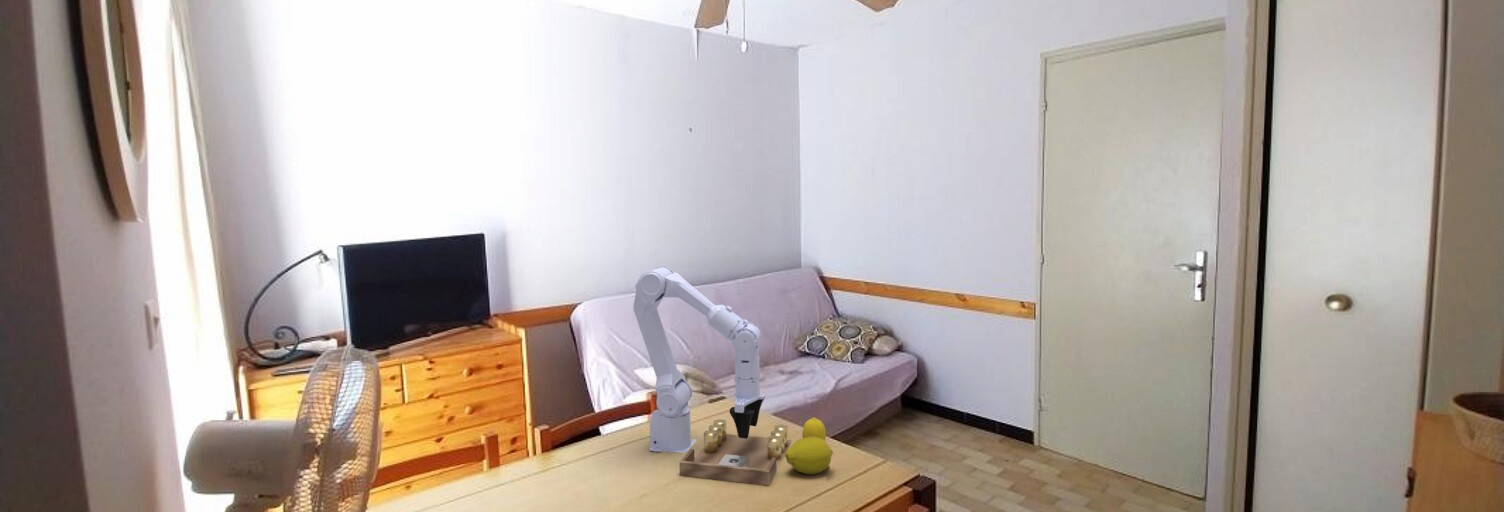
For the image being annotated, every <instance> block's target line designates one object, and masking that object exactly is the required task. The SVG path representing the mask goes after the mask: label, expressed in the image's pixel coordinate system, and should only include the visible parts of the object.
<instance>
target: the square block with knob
mask: <svg viewBox="0 0 1504 512" xmlns="http://www.w3.org/2000/svg"><path fill="white" fill-rule="evenodd" d="M718 465H726V466H735V467H744V468H749V467H750V459H749V457H748V456H738V455H729V454H725V456H724V457H723V458H722V460H721V461H720V462H719V464H718Z"/></svg>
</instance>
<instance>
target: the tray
mask: <svg viewBox="0 0 1504 512" xmlns="http://www.w3.org/2000/svg"><path fill="white" fill-rule="evenodd" d="M767 438H768V437H761V436H750V435H748V438H747V439H745V438H739V437H738V434H730V433H727V440H726V441H723V442H722V446H721V447H718V451H717V452H716V453H713V454H707V453H705V452H704V446H703V447H702V448H701V449H700V451H699V452H698V453H697V454H696V455H695V449H694V448H693V449H692V448H690V449H689V450H688V451H687V452H686V454H685V455H684V456H683V458H682V459H681V460H679V462H678V463H679V466H678V467H679V476H682V477H692V478H699V479H709V480H717V481H718V480H719V481H725V482H726V481H727V482H733V483H734V482H735V483H741V484H742V483H744V484H752V485H761V486H762V485H763V486H767V487H769V486H770V485H771V482H772V480H773V478H774V476H775V474H776V472H777V471H778V469H779V467H780V465H781V463H782V461H783V459H784V457H785V454H786V452H787V451H788V450H789V449H790V447H791V446H790V445H791V444H792V442H793V439H788V446H787V447H785V452H784V453H782V454H781V459H779V460H776V458H774V457H773V458H772V460H769V459H768V456H767ZM725 454H729V455H738V456H748V457H749V459H750V467H749V468H744V467H735V466H726V465H718V464H719V462H720V461H721V460H722V458H723V457H724V456H725Z"/></svg>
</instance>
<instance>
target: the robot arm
mask: <svg viewBox="0 0 1504 512" xmlns="http://www.w3.org/2000/svg"><path fill="white" fill-rule="evenodd" d="M663 298H679V299H680V300H682V301H683V302H684V303H686V304H688V306H690V307H692V308H694V309H695V310H697V311H698V312H700V313H701V314H702V315H704V316H705V317H706V320H707V324H708V325H709V326H710V327H711V328H713V330H716V331H717V332H718V333H719V334H721V335H722V336H723V337H724V338H726V339H727V340H729V341H731V343H732V346H733V348H734V350H735V357H734V360H735V361H734V362H735V363H734V372H735V374H734V375H735V377H734V378H735V389H734V390H735V393H734V400H735V403H734V406H731V407H730V409H729V414H730V416H731V417H732V419H733V422H734V425H735V428H736V433H737V435H738V437H739V438H745V439H747V438H748V436H750V427H757V425H758V420H759V416H760V411H761V407H762V405H763V402H764V400H765V399H766V398H765V394H764V393H761V390H760V387H761V386H760V385H761V384H760V379H761V378H760V373H761V372H760V355H759V354H760V350H759V349H760V347H759V345H758V344H760V342H761V339H762V331H761V330H760V328H759V327H758V326H757V325H756V323H753V322H749V320H747V319H746V318H744V319H743V318H741V317H740V316H739V315H737V314H736V313H734V311H733V308H732V307H731V306H729V305H726V306H725V305H724V304H717V305H716V304H714V303H713V302H712V301H711V300H709V298H707V297H706V296H705V295H704V294H702V293H701V292H700V291H699V290H697V289H696V288H695V287H694V286H693V285H691V284H690V283H689V282H688V281H687V280H686V279H685V278H683V276H681V274H680V273H677V272H675V271H673V269H671V268H670V267H668V266H662V265H661V266H658V267H656V268H654V269H652V270H647V271H646V272H644V273H642V274H641V276H640V277H639V279H638V280H637V281H636V284H635V295H634V301H633V305H632V306H633V308H632V309H633V312H634V315H635V319H636V321H637V324H638V327H639V330H640V333H641V335H642V339H643V342H644V345H645V347H646V351H647V354H648V356H649V358H650V359H649V360H650V362H651V364H652V368H653V371H654V374H655V377H656V381H655V388H654V390H655V393H656V408H657V409H655V410H654V411H653V412H652V413H651V416H650V419H649V440H650V442H649V444H650V445H649V446H650V447H649V452H657V453H662V452H671V453H677V454H678V453H680V454H685V453H686V454H687V453H688V452H689V451H690V450H691V449H692V446H694V444H695V443H696V442H697V441H698V440H697V439H694V438H693V439H692V434H691V432H692V431H691V429H692V428H691V426H692V425H691V407H690V406H689V401H690V400H691V399H692V396H693V389H692V387H691V385H690V383H689V382H687V380H686V379H685V377H684V374H683V373H682V372H681V371H680V370H679V369H678V367H677V364H676V362H675V359H674V355H673V353H672V350H671V347H670V344H669V340H668V338H667V334H666V332H665V329H664V326H663V323H662V320H661V316H660V314H659V310H658V307H659V306H660V304H661V302H662V300H663Z"/></svg>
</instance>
